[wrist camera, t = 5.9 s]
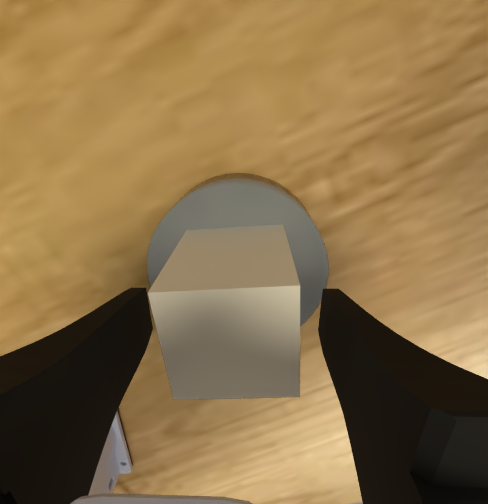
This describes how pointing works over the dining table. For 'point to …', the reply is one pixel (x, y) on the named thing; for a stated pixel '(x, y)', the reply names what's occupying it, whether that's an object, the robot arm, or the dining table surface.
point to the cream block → (230, 314)
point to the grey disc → (247, 214)
